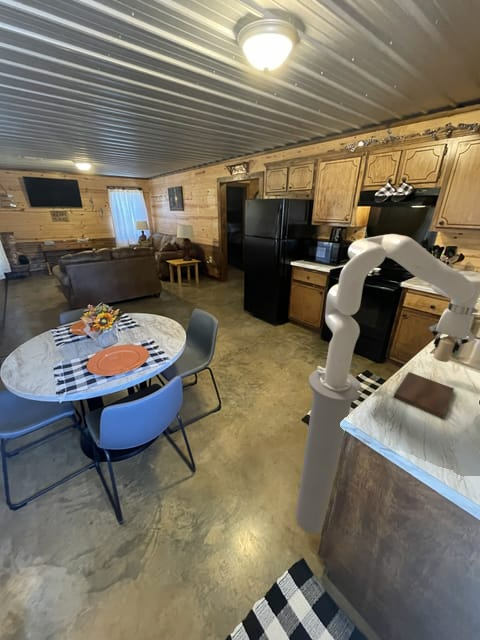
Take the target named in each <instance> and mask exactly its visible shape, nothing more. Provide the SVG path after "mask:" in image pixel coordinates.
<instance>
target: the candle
mask: <svg viewBox="0 0 480 640" xmlns="http://www.w3.org/2000/svg"><path fill="white" fill-rule="evenodd" d="M456 342H457V341H455V339H454V337H453V336H443V337H440V340H439V342H438V345H437V347H435V350H434V353H433V358H434V359H435V360H437V361H439V362H441V363H442V362H443V363H448V362H450V360H451V358H452V357H451V356H452V355H453V349H454V347H455V345H456Z"/></svg>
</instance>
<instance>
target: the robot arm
mask: <svg viewBox="0 0 480 640" xmlns="http://www.w3.org/2000/svg"><path fill="white" fill-rule="evenodd" d="M347 256H348V258H349V261H347V262H346V263H345V265H344V266H343V268H342V269H341V270H340V274H339V278H338V283H336V284H334V285H333V286H332V287H331V288H330V289H329V291H328V292H327V296H326V303H325V312H324V319H325V320H324V321H325V324H326V325H327V327H328V328H329V330H330V331H331V333H332V337H331V340H330V341H329V344H328V350H327V357H326V361H325V362H326V363H325V367H323V366H321V365H318V366H317V367H316V370H317V373H319V374H321V377H320V382H321V384H322V385H323V386H324V387H325V388H327V389H329V390H332V391H336V392H343V391H346V390H348V389H349V388H350V381H349V380H348V374H350V370H351V364H352V359H353V355H354V350H355V347H356V343H357V340H358V339H359V337H360V333H361V330H360V325H359V323H358V322H357V321H356V319H354V318H353V317H352V316H353V315H355V314H356V313H358V311H359V310H360V307H361V303H362V302H361V301H362V297H363V296H362V295H363V289H364V283H365V280H366V277H367V276H368V275H369V273H370V272H372V271H373V270H375V269H376V268H377V267H379V266H380V265H381V264H382V263H384V261H385V259H386V258H388V259H392V260H393V261H394V262H396V263H397V264H398V265H400V266H401V267H403V268H404V270H407V271H408V273H410V274H411V275H412V276H414V277H416V278H417V279H419V280H421V281H423V282H425V283H428V284H430V286H431V289H432V291H433V292H435V293H436V294H438V295H440V296H443V297H444V298H448V299H450V302H449V304H448V307H446V308H445V309H444V310H443V312H442V314H441V316H440V318H439V321H438V322H436V323H434V324H432V325H430V326H429V327H428V329H429V330H430V332H431V333H432V334H433V336H434V341H433V345H434V348H437V345H438V342H439V340H440V338H441V336H442V335H447V336H448V337H452V338H456V340H457V341H455V342H456V345H455V347H454V349H453V352H452V354H455V353H456V352H458V351H459V349H460V346H461V345H464V344H467V343H469V342H474V341H475V340H476V337H475V336H474V334H473V333H472V332H471V327H472V325H473V322H474V317H475V313H476V314H479V313H478V312H479V309H477V308H476V305H477V303H478V301H479V297H480V278H479V277H476V276H475V277H474V276H465V275H463V274H462V273H461V272H459V271H458V270H456V269H454V268H453V267H451V266H449V265H448V264H446V263H445V262H443V261H442V260H441V259H439V258H437V257H435V256H434V255H433V254H431V253H430V252H429V251H428V250H426V248H425V247H423V246H422V245H421V244H419V242H417V241H416V240H414V239H413V238H412V237H409V236H407V235H402V234H397V233H389V234H383V235H376V236H370V237H366V238H360V239H357V240H355V241H353V242H352V243H351V244H350V245H349V247H348V249H347Z"/></svg>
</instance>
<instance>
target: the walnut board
mask: <svg viewBox="0 0 480 640" xmlns="http://www.w3.org/2000/svg"><path fill="white" fill-rule="evenodd" d="M453 392H454V387H451V386H449V385H446V384H443V383H441V382H438V381H435V380H432V379H429V378H426V377H424V376H421V375H418V374H416V373H414V372H410V371H408V372H407V374H406V376H405V377H404V379H403V380H402V381H401V383H400V384H399V386H398V388H397V389H396V390H395V393H394V394H393V398H394V399H397V400H399V401H402V402H404V403H407V404H408V405H411V406H413V407H415V408H418V409H420V410H422V411H424V412H427V413H429V414H431V415H434V416H436V417H438V418H441V419H444V417H445V415H446V412H447V409H448V406H449V403H450V400H451V397H452V394H453Z"/></svg>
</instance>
